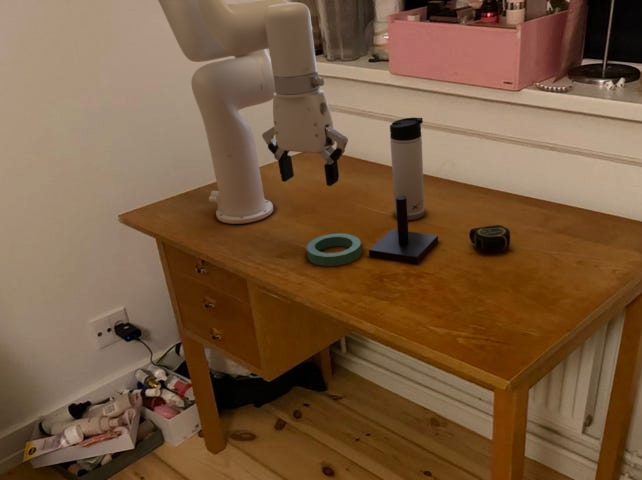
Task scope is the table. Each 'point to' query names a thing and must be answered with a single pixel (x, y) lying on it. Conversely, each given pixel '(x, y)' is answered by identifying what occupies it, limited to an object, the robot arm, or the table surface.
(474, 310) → the table surface
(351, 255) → the bangle
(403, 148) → the travel mug
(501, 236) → the tape measure
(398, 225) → the stand
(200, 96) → the robot arm
